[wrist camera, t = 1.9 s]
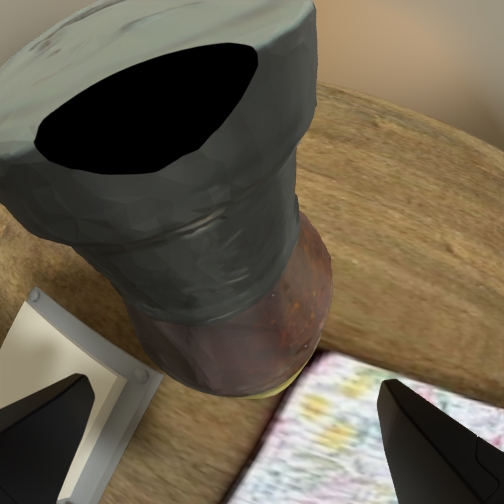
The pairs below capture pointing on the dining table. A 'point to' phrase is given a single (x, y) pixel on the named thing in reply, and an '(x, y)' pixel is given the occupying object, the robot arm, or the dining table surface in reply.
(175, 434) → the dining table surface
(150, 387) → the tower base
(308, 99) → the sauce bottle
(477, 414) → the dining table surface
